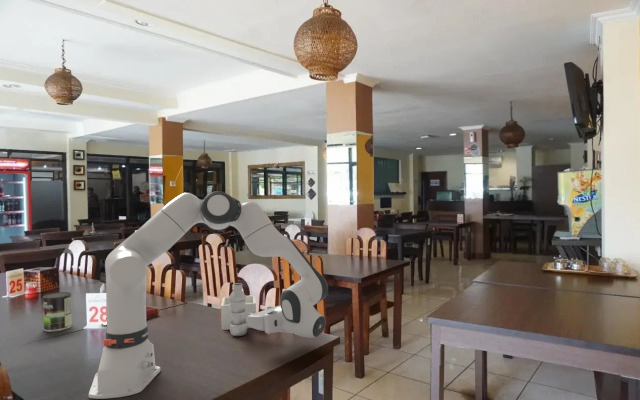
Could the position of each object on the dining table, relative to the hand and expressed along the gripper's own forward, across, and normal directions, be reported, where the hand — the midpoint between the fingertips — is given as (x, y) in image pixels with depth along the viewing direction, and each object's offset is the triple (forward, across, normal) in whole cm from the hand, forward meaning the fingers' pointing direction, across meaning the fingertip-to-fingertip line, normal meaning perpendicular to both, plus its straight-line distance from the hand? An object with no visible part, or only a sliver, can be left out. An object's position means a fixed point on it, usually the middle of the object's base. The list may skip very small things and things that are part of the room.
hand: (259, 311), depth 153 cm
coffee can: (+83, +40, +11) cm, 93 cm away
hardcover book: (+68, +16, +12) cm, 71 cm away
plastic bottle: (+12, 0, +12) cm, 17 cm away
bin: (+24, -10, +11) cm, 28 cm away
